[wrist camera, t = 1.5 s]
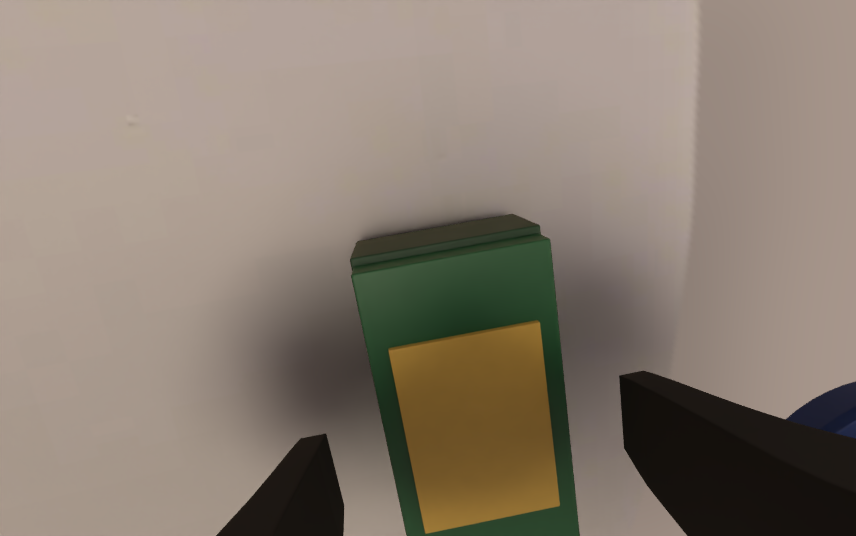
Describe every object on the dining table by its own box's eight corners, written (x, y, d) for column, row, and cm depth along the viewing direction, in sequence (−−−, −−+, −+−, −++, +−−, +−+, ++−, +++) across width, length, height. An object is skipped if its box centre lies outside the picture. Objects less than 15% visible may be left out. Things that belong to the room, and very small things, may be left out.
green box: (538, 466, 16) (586, 565, 12) (410, 492, 16) (417, 602, 12) (507, 210, 14) (554, 230, 10) (358, 236, 14) (346, 268, 10)
